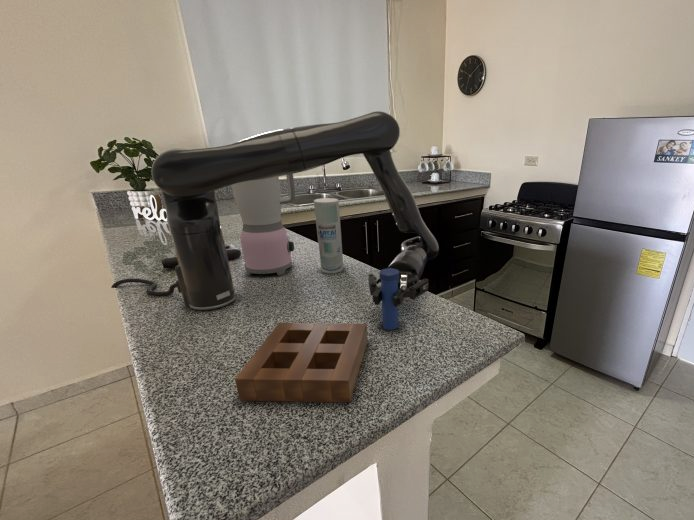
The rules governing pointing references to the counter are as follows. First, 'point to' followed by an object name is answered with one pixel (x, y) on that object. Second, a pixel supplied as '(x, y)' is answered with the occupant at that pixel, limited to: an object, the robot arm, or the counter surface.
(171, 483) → the counter surface
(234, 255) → the door handle
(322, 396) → the holder
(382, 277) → the blue peg
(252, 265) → the blender
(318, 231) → the spray can
